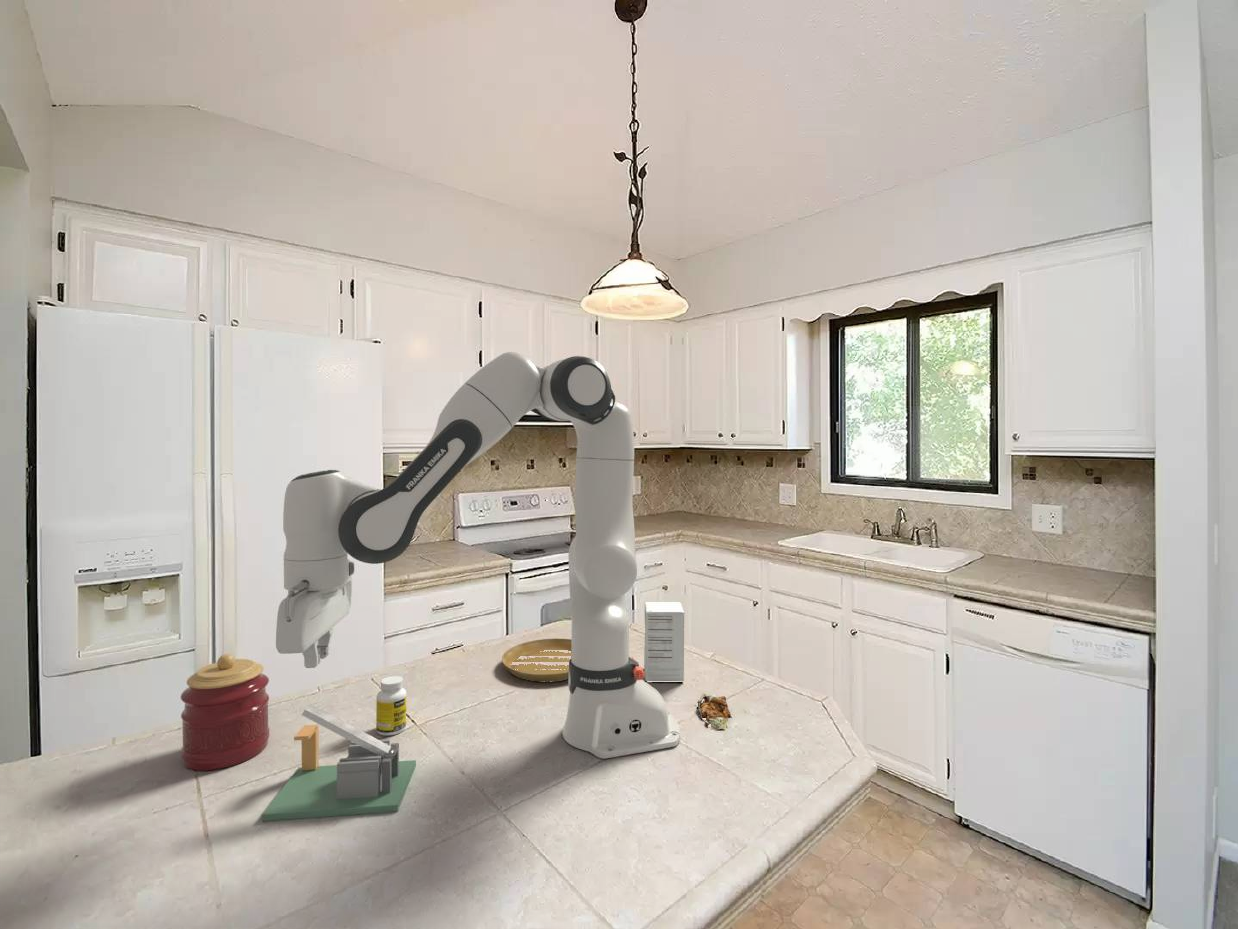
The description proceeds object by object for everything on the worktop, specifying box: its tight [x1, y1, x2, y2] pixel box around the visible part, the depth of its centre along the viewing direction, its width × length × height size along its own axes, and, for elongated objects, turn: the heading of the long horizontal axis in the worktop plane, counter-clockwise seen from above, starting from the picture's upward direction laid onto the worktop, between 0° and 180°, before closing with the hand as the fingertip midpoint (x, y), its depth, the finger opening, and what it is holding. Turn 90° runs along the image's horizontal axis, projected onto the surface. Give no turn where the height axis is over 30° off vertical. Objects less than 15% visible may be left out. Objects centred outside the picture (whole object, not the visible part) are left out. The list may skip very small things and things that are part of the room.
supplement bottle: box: [375, 675, 407, 737], centre depth 110 cm, size 5×5×10 cm
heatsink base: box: [261, 738, 417, 822], centre depth 91 cm, size 19×12×6 cm, turn 97°
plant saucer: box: [501, 637, 571, 683], centre depth 143 cm, size 24×24×3 cm
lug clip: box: [293, 724, 320, 770], centre depth 94 cm, size 2×4×7 cm, turn 7°
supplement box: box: [643, 601, 685, 681], centre depth 138 cm, size 10×9×17 cm
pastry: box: [697, 692, 732, 731], centre depth 117 cm, size 7×12×4 cm, turn 5°
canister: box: [180, 653, 270, 771], centre depth 102 cm, size 13×13×18 cm
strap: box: [301, 703, 398, 762], centre depth 90 cm, size 16×3×1 cm
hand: (317, 661), depth 89 cm, fingers closed
